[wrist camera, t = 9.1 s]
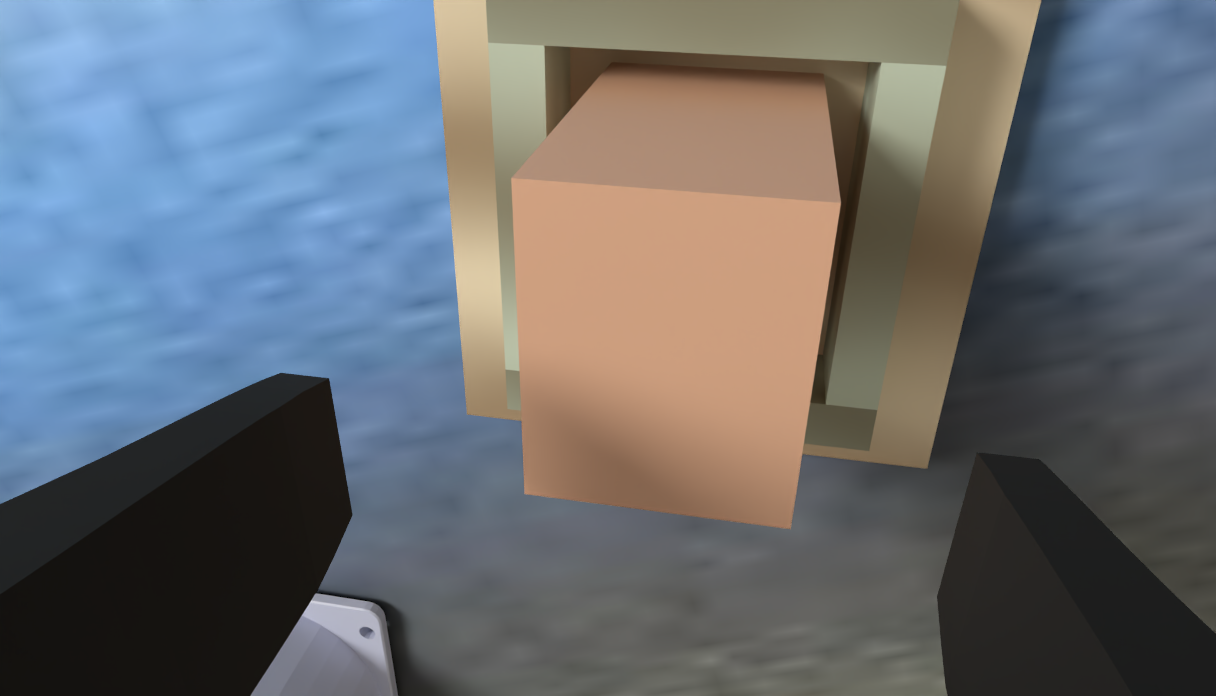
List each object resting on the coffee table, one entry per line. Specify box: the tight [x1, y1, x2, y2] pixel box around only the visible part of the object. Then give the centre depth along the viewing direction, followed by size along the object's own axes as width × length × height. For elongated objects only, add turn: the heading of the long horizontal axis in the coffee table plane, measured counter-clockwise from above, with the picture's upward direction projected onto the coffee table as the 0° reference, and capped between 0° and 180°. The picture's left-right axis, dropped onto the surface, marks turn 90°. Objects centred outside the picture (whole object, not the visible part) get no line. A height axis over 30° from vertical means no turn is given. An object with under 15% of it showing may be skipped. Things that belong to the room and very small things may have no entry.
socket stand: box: [434, 0, 1041, 469], centre depth 17 cm, size 12×11×3 cm
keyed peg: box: [511, 62, 841, 529], centre depth 15 cm, size 5×4×7 cm
